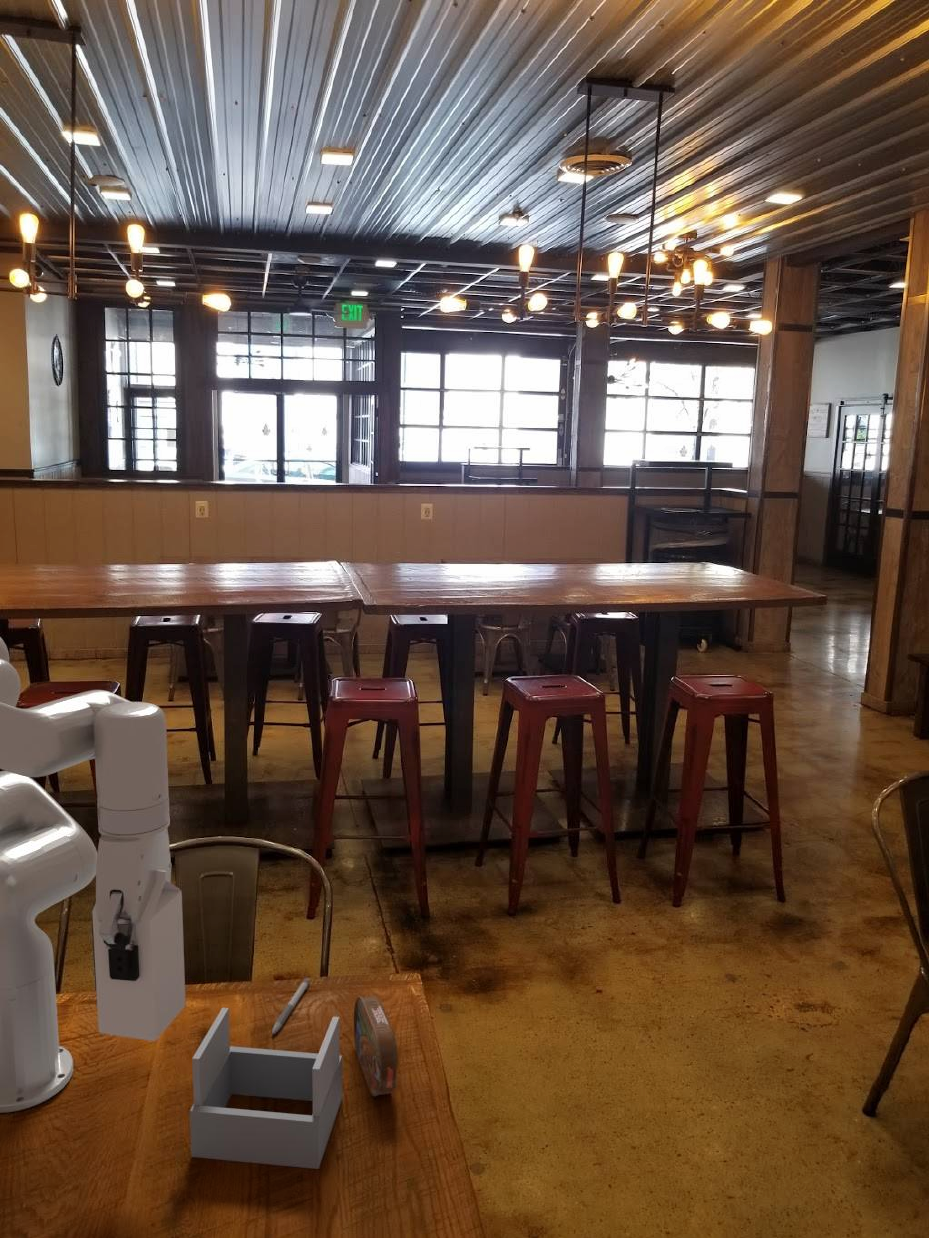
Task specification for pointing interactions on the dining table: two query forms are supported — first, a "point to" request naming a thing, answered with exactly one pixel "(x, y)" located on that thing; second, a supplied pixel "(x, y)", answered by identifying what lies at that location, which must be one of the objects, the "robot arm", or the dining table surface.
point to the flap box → (263, 1076)
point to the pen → (290, 1006)
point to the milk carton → (145, 970)
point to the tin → (375, 1045)
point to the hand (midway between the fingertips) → (140, 958)
